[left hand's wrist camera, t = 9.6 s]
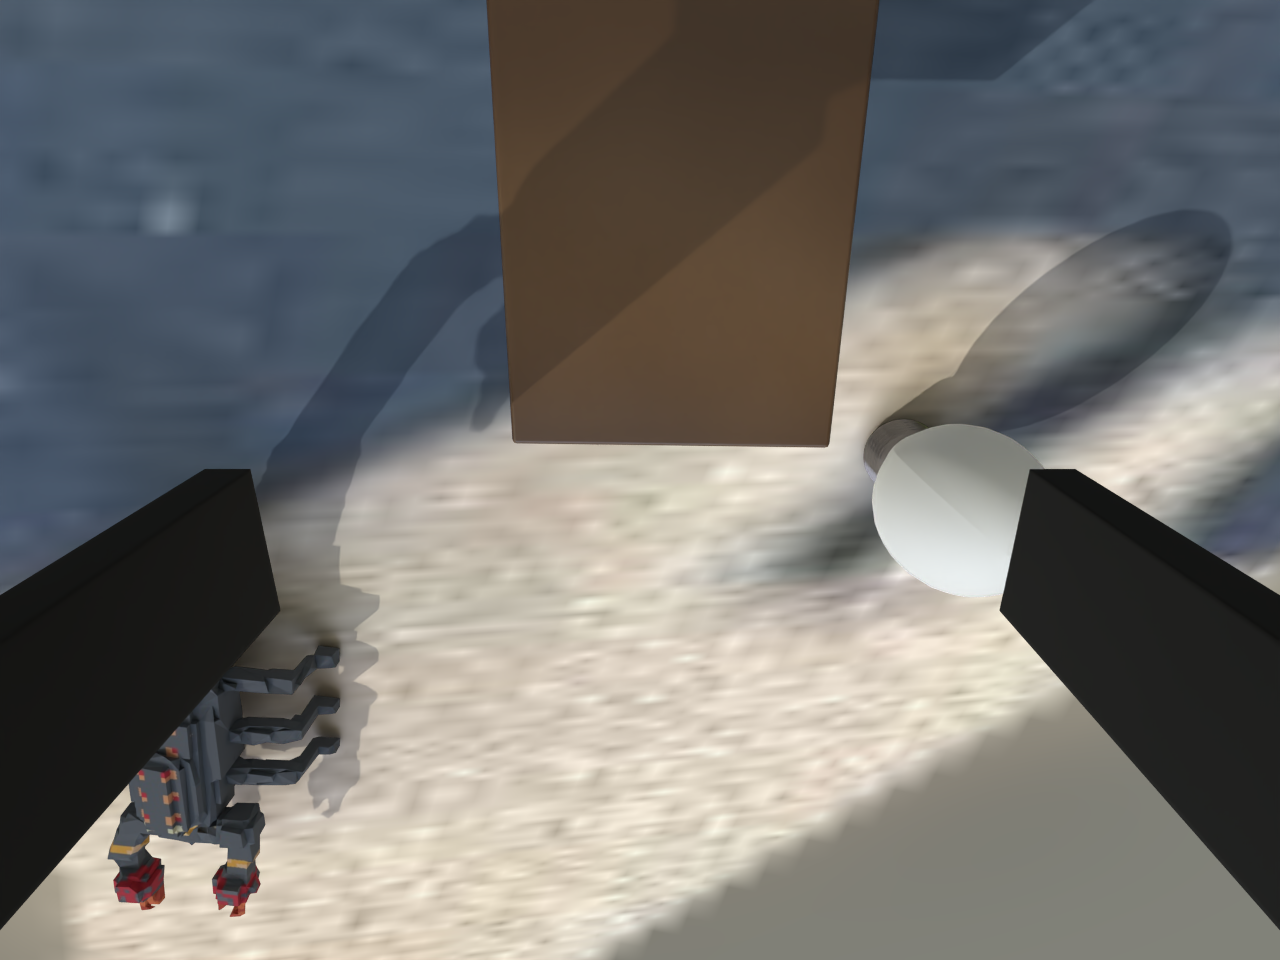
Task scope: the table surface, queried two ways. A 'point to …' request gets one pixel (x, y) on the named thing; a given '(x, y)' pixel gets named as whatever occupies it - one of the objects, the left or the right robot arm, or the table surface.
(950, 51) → the table surface
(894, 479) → the light bulb
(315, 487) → the table surface
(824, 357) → the box
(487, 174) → the table surface
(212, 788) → the toy
